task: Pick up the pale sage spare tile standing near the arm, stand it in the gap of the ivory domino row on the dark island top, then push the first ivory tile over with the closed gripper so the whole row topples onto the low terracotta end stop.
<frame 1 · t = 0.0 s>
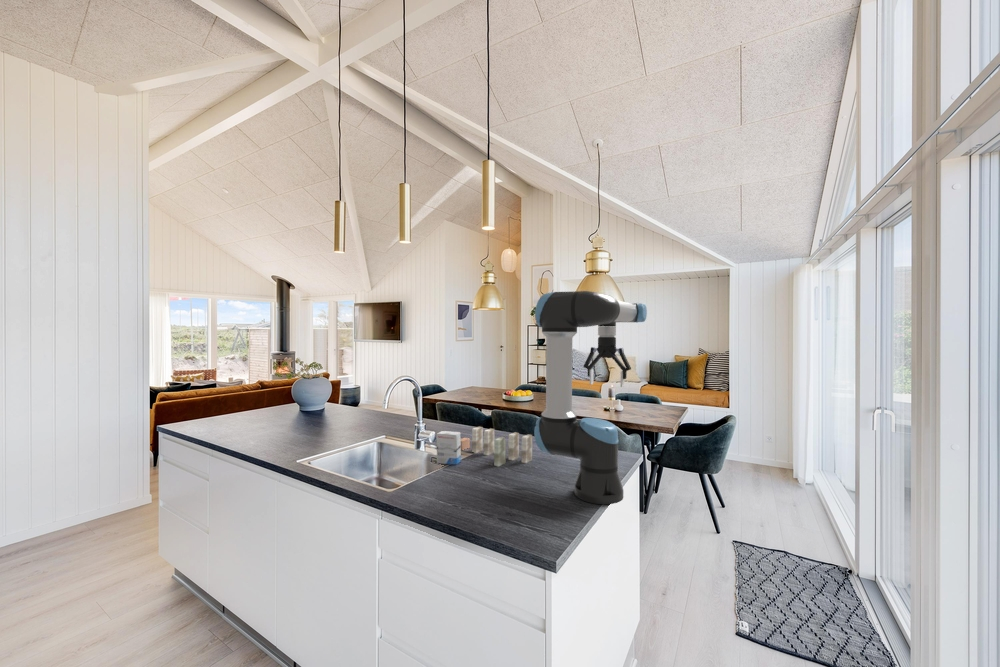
hand: (606, 385, 179), 28 cm above the countertop, fingers open, 13 cm apart
domino 1: (526, 461, 164), on the countertop
end stop: (463, 448, 181), on the countertop
domino 4: (489, 453, 174), on the countertop
domino 5: (477, 451, 177), on the countertop
domino 2: (513, 458, 167), on the countertop
domino 3: (499, 464, 160), on the countertop
ink box: (448, 462, 162), on the countertop
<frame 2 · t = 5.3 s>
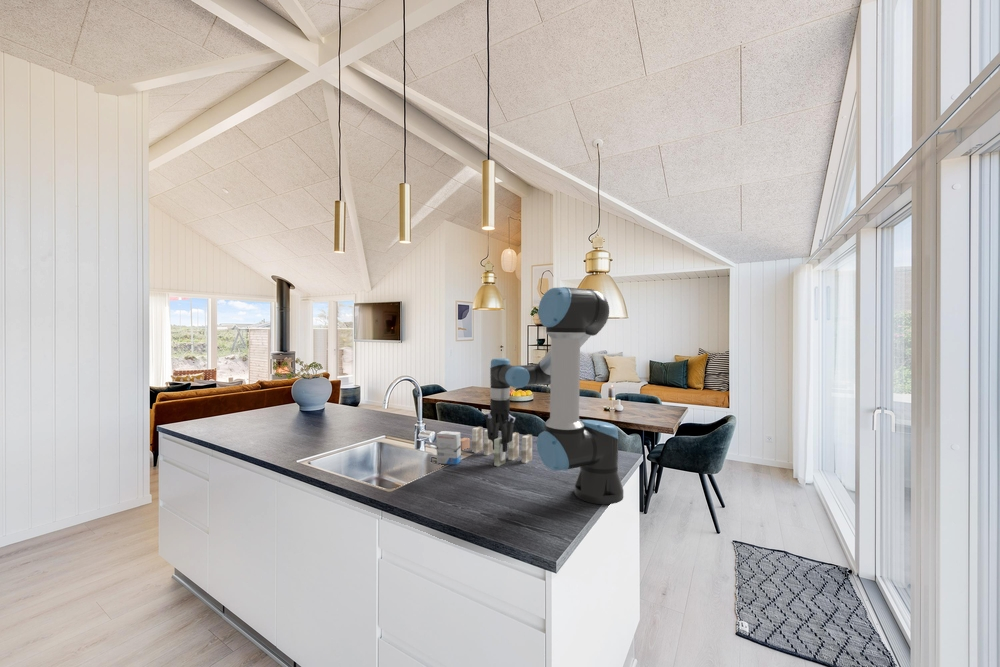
hand: (499, 459, 160), 2 cm above the countertop, fingers closed on domino 3, 2 cm apart
domino 3: (499, 464, 160), on the countertop, touching gripper
everything else where it was.
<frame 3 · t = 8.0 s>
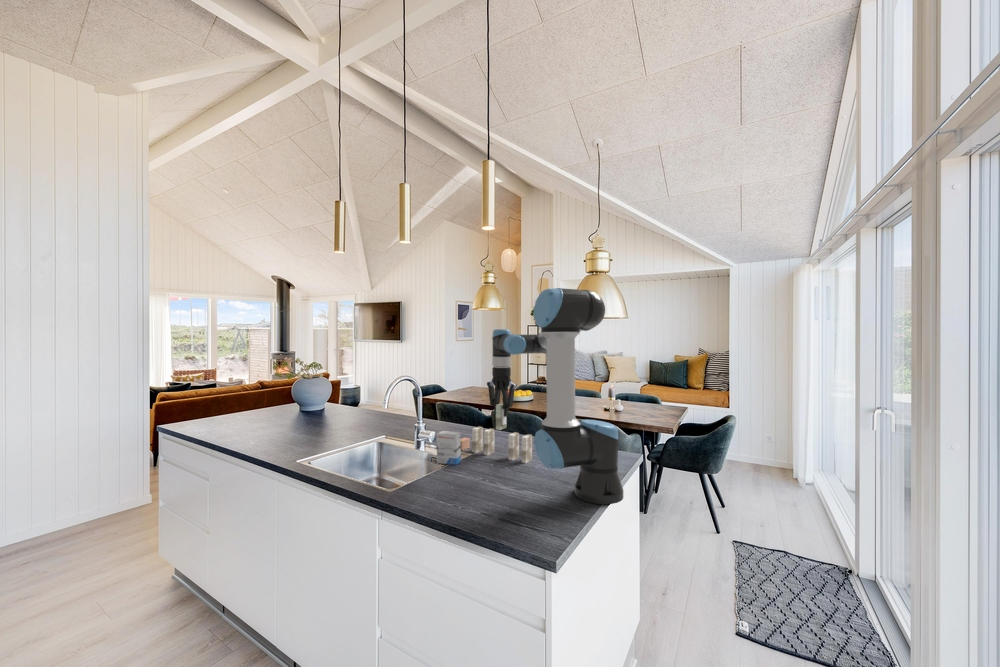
hand: (501, 423, 170), 13 cm above the countertop, fingers closed on domino 3, 2 cm apart
domino 3: (501, 428, 170), point 11 cm above the countertop, touching gripper
everything else where it was.
when the fingers open (2 cm above the countertop, at t = 10.5 s): domino 3 stays where it is, on the countertop.
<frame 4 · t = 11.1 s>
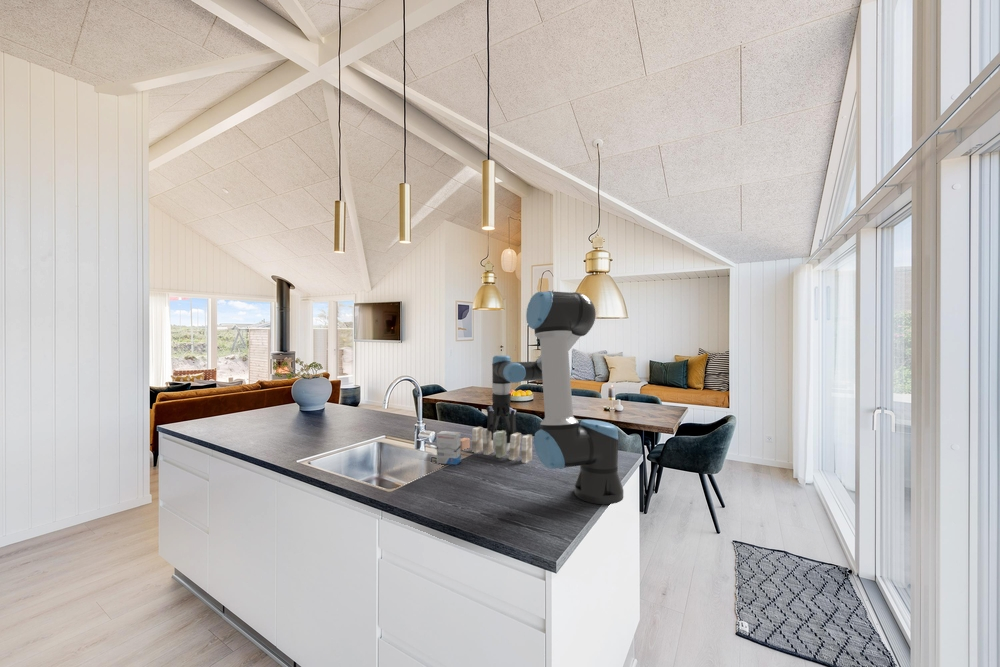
hand: (501, 449, 170), 3 cm above the countertop, fingers open, 5 cm apart
domino 4: (489, 453, 174), on the countertop, tilted 6°, touching gripper
domino 2: (513, 458, 167), on the countertop, tilted 6°
domino 3: (501, 456, 170), on the countertop
everything else where it was.
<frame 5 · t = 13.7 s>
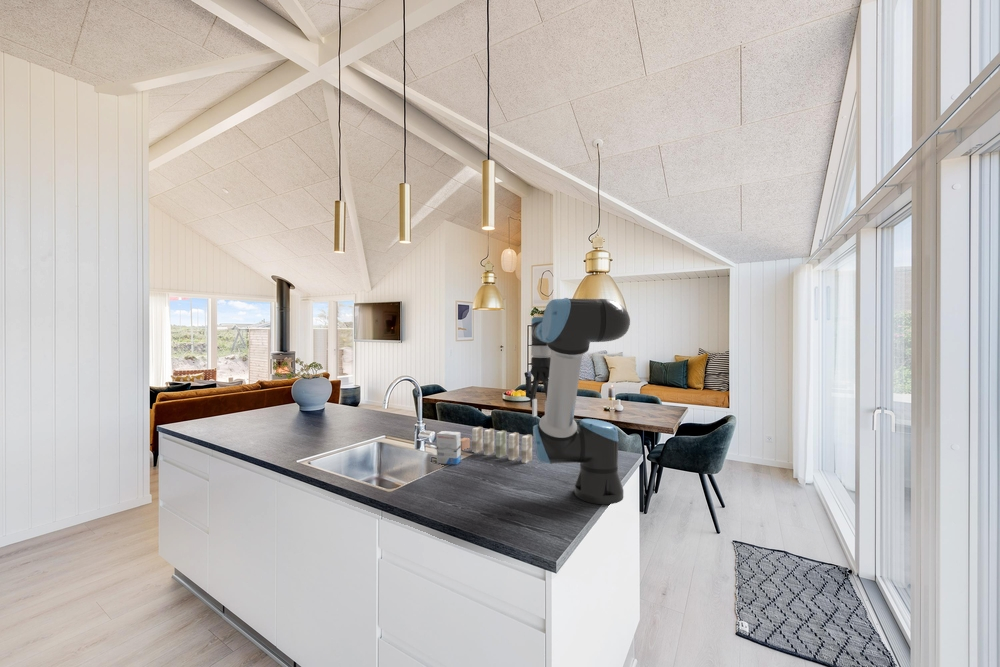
hand: (540, 416, 160), 18 cm above the countertop, fingers open, 5 cm apart
domino 4: (489, 453, 174), on the countertop
domino 2: (513, 458, 167), on the countertop
everything else where it was.
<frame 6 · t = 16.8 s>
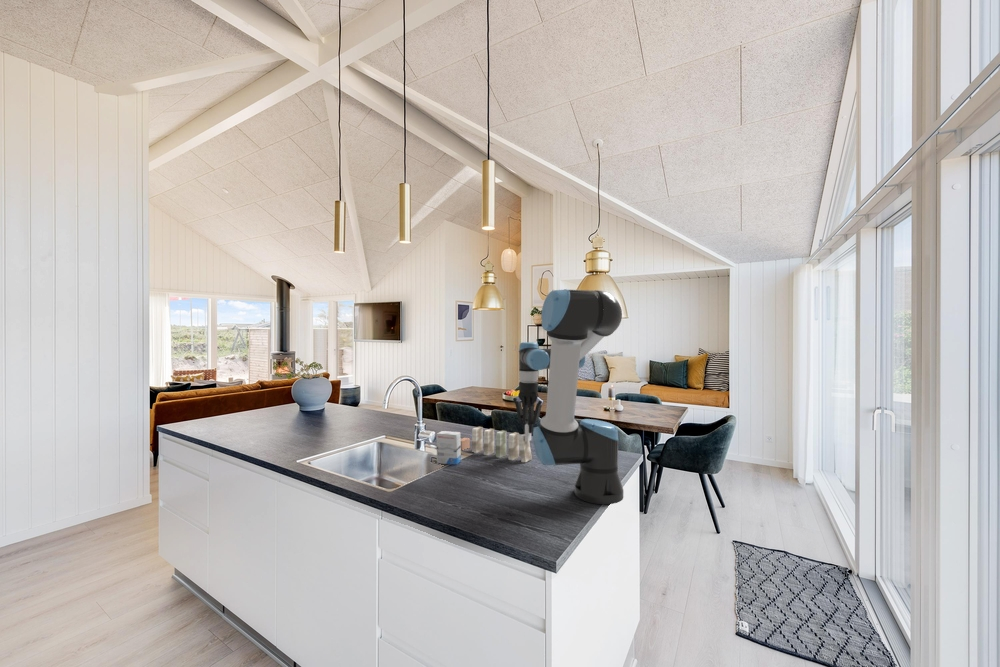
hand: (528, 440, 164), 8 cm above the countertop, fingers closed
domino 1: (526, 460, 164), on the countertop, tilted 10°
everything else where it was.
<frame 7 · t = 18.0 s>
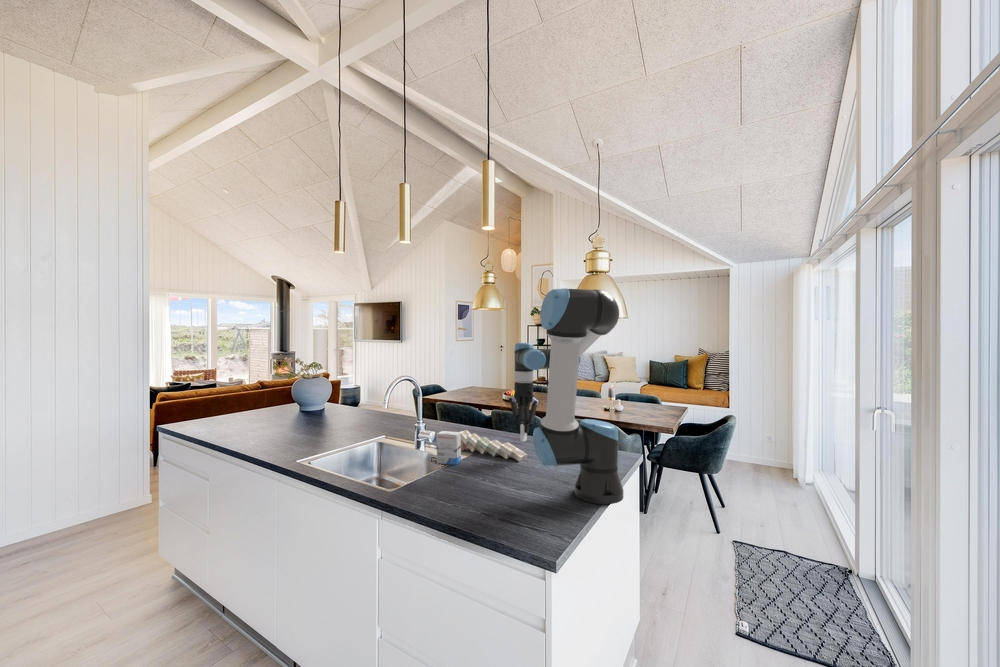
hand: (523, 440, 165), 8 cm above the countertop, fingers closed
domino 1: (523, 458, 165), point 1 cm above the countertop, tilted 69°
domino 4: (486, 451, 174), point 1 cm above the countertop, tilted 59°, touching domino 3, domino 5
domino 5: (476, 449, 177), point 1 cm above the countertop, tilted 52°, touching domino 4, end stop
domino 2: (510, 455, 168), point 1 cm above the countertop, tilted 68°, touching domino 3
domino 3: (498, 453, 171), point 1 cm above the countertop, tilted 64°, touching domino 2, domino 4
everything else where it was.
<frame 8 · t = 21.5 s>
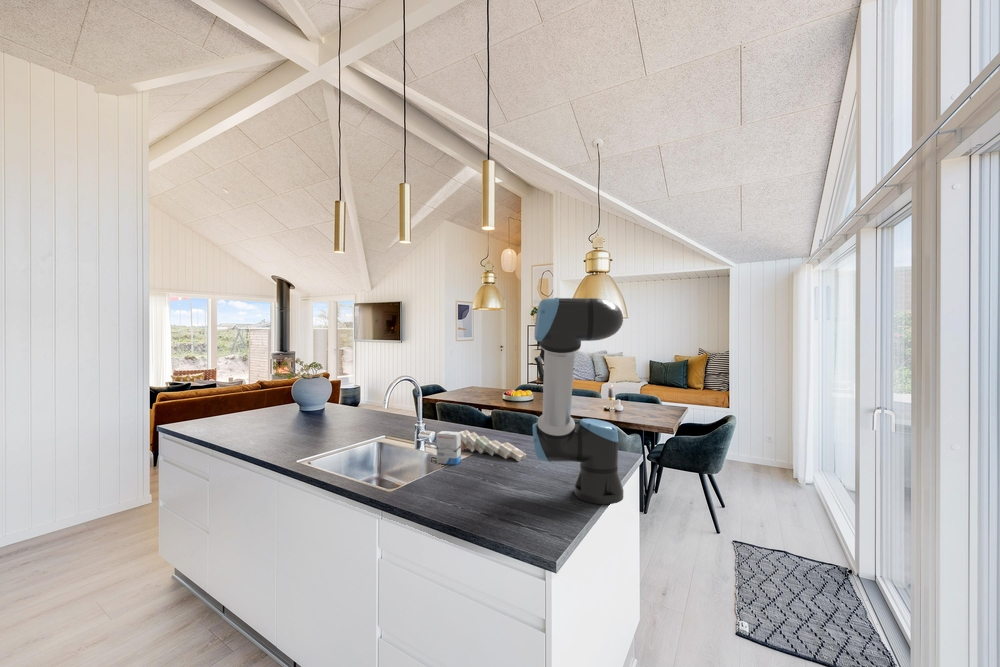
hand: (549, 400, 163), 24 cm above the countertop, fingers closed
domino 1: (522, 457, 165), point 1 cm above the countertop, tilted 69°, touching domino 2
domino 2: (510, 455, 168), point 1 cm above the countertop, tilted 69°, touching domino 1, domino 3
domino 3: (496, 452, 172), point 1 cm above the countertop, tilted 62°, touching domino 2, domino 4
everything else where it was.
at the end: domino 5 tilted 52°; domino 3 inside the target area (1.0 cm from its centre), point 0.8 cm above the countertop; domino 3 tilted 62° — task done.
